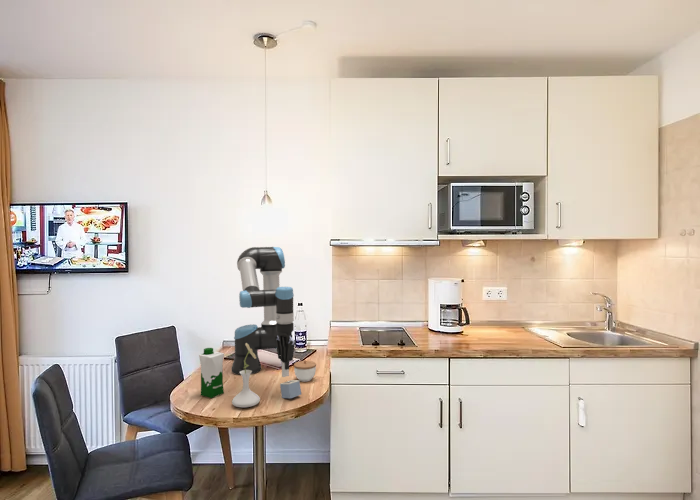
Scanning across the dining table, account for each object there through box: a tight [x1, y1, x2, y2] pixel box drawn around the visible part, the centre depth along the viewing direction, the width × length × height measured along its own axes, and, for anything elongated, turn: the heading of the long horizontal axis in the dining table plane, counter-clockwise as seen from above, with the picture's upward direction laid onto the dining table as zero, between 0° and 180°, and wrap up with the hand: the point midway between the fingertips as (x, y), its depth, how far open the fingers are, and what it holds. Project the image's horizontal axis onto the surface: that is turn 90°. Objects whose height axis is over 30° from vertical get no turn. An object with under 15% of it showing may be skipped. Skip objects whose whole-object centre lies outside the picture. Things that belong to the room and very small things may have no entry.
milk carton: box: [198, 347, 225, 399], centre depth 182 cm, size 9×9×20 cm
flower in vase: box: [231, 343, 261, 408], centre depth 171 cm, size 13×11×25 cm
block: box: [279, 379, 302, 399], centre depth 178 cm, size 6×6×6 cm
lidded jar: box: [293, 360, 317, 383], centre depth 201 cm, size 11×11×9 cm
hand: (285, 376), depth 180 cm, fingers closed
